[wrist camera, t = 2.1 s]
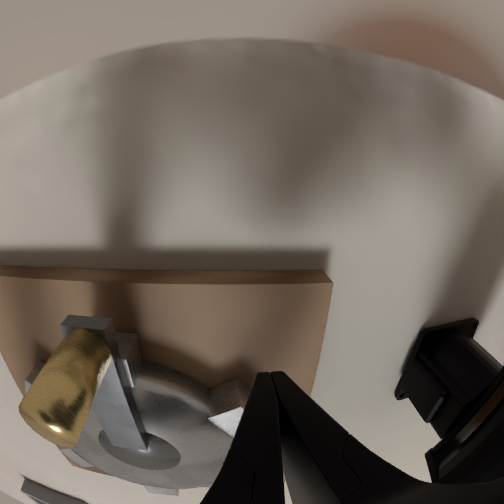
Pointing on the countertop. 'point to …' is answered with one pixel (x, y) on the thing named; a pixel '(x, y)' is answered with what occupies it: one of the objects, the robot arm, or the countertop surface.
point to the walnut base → (174, 319)
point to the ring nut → (130, 410)
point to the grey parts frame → (46, 495)
